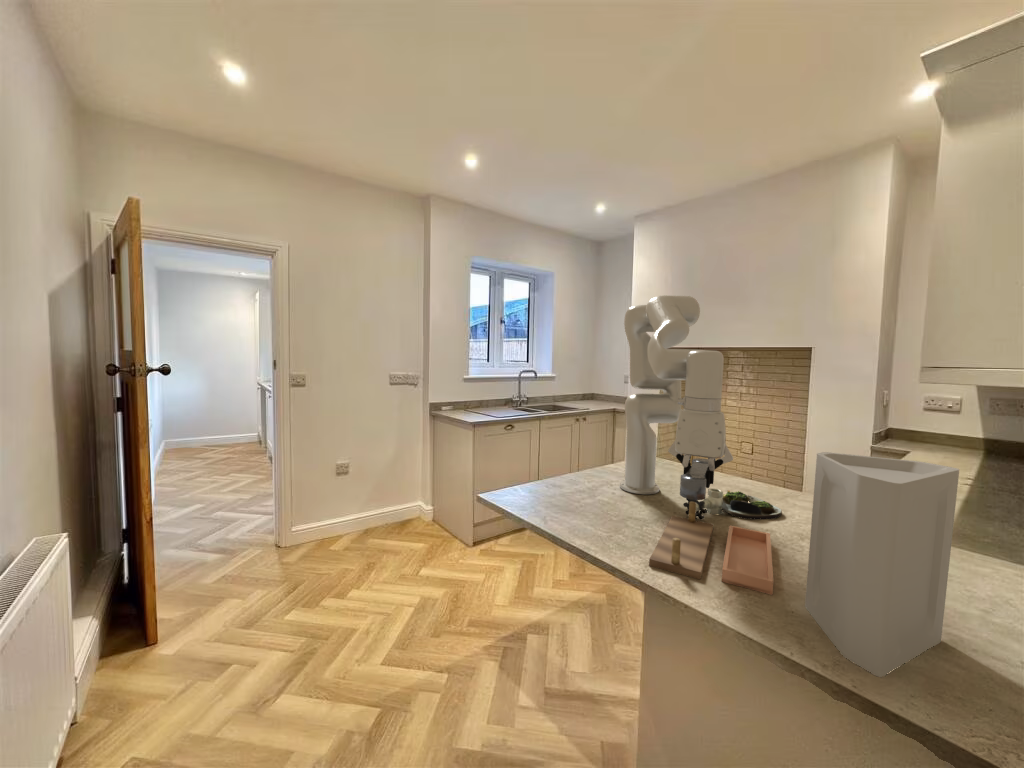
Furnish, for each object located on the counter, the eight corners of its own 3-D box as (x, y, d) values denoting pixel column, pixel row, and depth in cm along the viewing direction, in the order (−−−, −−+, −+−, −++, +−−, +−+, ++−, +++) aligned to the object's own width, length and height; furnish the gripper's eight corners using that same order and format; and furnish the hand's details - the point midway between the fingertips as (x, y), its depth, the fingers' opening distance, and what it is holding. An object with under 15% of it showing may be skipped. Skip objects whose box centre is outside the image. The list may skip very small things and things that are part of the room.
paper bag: (838, 591, 80) (850, 448, 78) (943, 640, 67) (961, 469, 64) (775, 616, 72) (786, 457, 69) (880, 678, 58) (898, 484, 56)
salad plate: (692, 496, 132) (693, 482, 132) (745, 495, 134) (746, 481, 134) (730, 521, 113) (732, 505, 113) (791, 520, 115) (792, 503, 115)
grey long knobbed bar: (692, 472, 105) (693, 457, 105) (714, 476, 103) (715, 460, 103) (677, 497, 88) (678, 478, 87) (703, 501, 85) (704, 482, 85)
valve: (707, 507, 123) (682, 515, 116) (708, 485, 122) (683, 492, 115) (729, 515, 117) (704, 524, 110) (731, 492, 116) (705, 500, 110)
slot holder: (728, 535, 104) (729, 525, 103) (769, 543, 99) (770, 533, 99) (721, 581, 83) (722, 569, 82) (772, 595, 78) (773, 581, 78)
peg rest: (671, 520, 112) (673, 497, 111) (713, 529, 107) (714, 505, 106) (649, 565, 88) (650, 536, 88) (700, 579, 83) (702, 548, 83)
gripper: (660, 403, 95) (656, 482, 96) (743, 410, 86) (737, 496, 88) (667, 400, 101) (663, 474, 103) (745, 406, 93) (739, 487, 94)
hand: (698, 483), depth 95 cm, fingers closed on grey long knobbed bar, 3 cm apart
